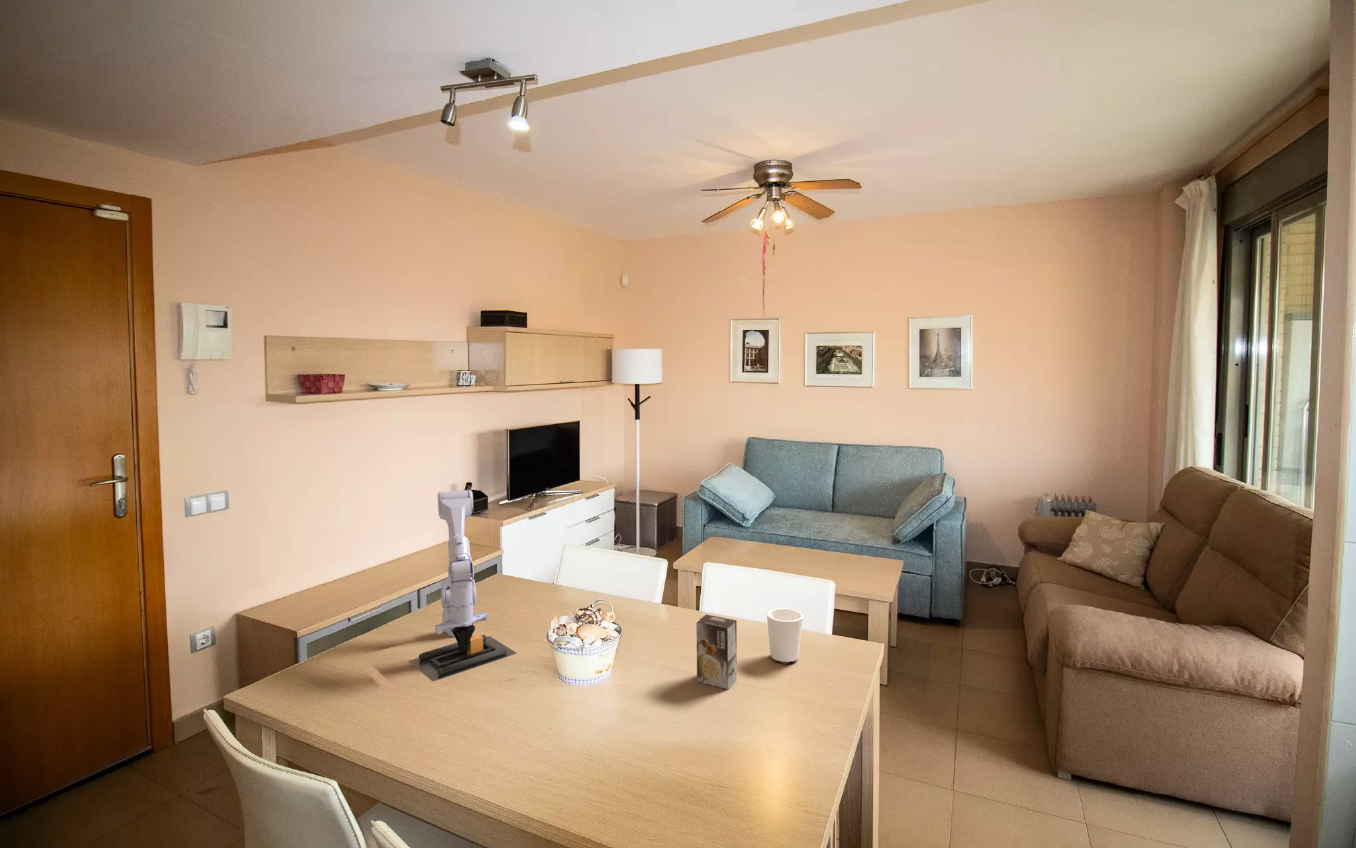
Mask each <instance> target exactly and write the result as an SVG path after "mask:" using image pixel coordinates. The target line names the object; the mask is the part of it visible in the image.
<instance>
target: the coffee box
mask: <svg viewBox="0 0 1356 848" xmlns="http://www.w3.org/2000/svg"><path fill="white" fill-rule="evenodd" d="M695 626H696V682H697V683H700V684H705V685H708V684H709V686H713V687H716V686H717V687H716V688H722V689H725V690H729V689H730V688H731V687H732V686H733V685H734V684H735V683H736V682H737V680H738V679H737V678H738V672H737V671H738V670H737V669H738V668H737V666H738V665H737V661H738V660H737V659H738V658H737V648H738V647H737V642H738V641H737V637H738V636H737V631H738V630H737V626H738V625H737V620H736V619H732V618H726V617H721V616H715V615H711V614H705V615H703V616H702V617H700V618H699V620H698V621H697V622H696V625H695Z"/></svg>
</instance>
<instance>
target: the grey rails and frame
mask: <svg viewBox="0 0 1356 848" xmlns="http://www.w3.org/2000/svg"><path fill="white" fill-rule="evenodd" d="M480 636H482V637H483V641H485V640H486V638H487V637H488V636H487V635H485V634H481V635H480ZM457 649H459V646H458V643H457V642H455V643H451V644H448V645H444V646H441V647H438V648H435V649H431V650H427V651H425V652H421V653H419V654H418V658H419V659H420V660H424V659H428V658H431V657H434V656H437V655H441V654H444V653H447V652H450V651H454V650H457ZM506 653H507V649H506V648H501V649H498V650H495V651H492V652H488V653H485V654H482V655H479V656H476V657H473V658H470V659H467V660H464V661H460V662H457V663H454V664H451V665H448V666H445V667H442V668H439V669H438V671H437V673H438V675H443V674H446V673H449V672H452V671H455V670H459V669H462V668H465V667H468V666H471V665H474V664H477V663H480V662H483V661H486V660H489V659H492V658H495V657H498V656H501V655H504V654H506Z"/></svg>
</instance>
